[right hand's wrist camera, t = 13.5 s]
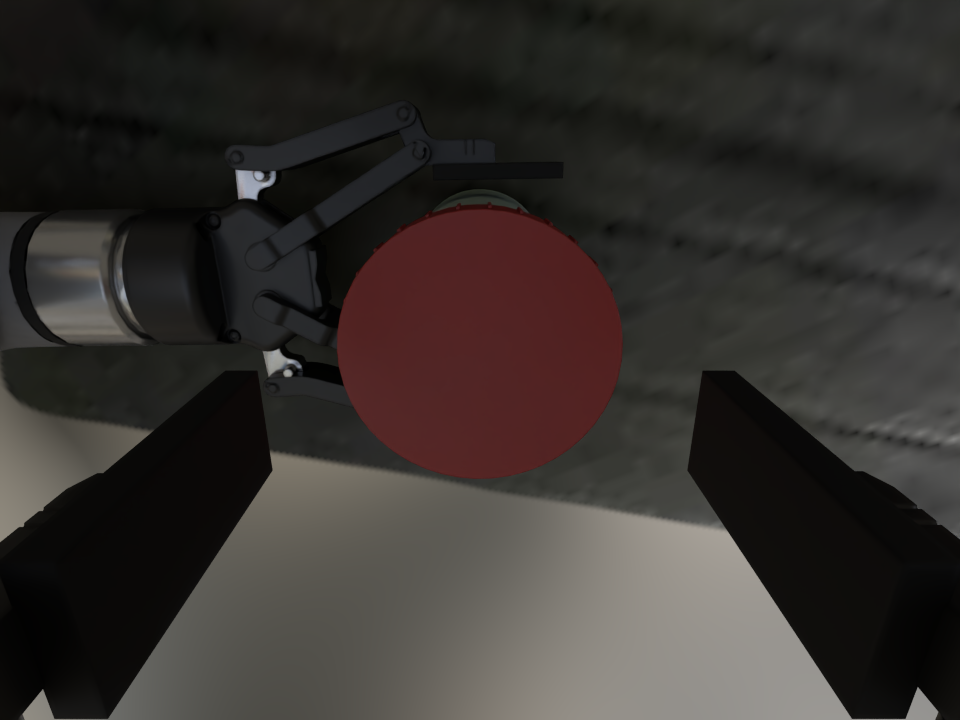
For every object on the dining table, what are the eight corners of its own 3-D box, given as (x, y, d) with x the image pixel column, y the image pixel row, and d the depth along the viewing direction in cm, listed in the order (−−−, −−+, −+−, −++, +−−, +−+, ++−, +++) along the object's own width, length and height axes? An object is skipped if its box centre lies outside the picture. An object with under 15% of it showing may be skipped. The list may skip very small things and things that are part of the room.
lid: (567, 157, 17) (576, 157, 16) (640, 409, 20) (656, 433, 19) (302, 259, 19) (283, 270, 17) (409, 483, 22) (403, 512, 20)
